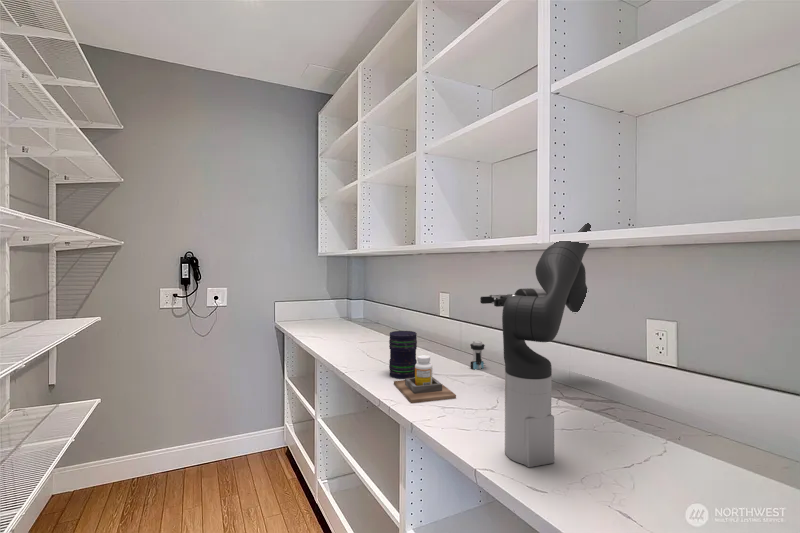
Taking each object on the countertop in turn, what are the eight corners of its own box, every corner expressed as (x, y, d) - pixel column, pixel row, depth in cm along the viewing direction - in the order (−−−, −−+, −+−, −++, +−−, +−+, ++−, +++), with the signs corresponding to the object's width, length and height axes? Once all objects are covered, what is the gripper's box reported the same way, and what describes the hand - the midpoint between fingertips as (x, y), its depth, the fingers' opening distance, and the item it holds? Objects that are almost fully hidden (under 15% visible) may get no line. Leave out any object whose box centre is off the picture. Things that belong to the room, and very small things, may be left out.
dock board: (456, 398, 115) (456, 388, 115) (411, 403, 111) (411, 392, 111) (433, 380, 132) (433, 371, 132) (393, 384, 128) (393, 375, 128)
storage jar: (383, 375, 138) (383, 333, 138) (401, 369, 145) (401, 329, 145) (404, 381, 131) (404, 337, 131) (422, 374, 139) (422, 332, 139)
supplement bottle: (419, 383, 125) (419, 353, 125) (435, 386, 122) (435, 355, 122) (411, 388, 120) (412, 357, 120) (427, 391, 118) (427, 359, 118)
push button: (480, 365, 151) (480, 339, 151) (490, 368, 146) (490, 342, 146) (467, 367, 148) (467, 341, 148) (476, 371, 143) (476, 344, 143)
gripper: (519, 286, 132) (476, 287, 128) (546, 289, 119) (499, 291, 114) (519, 308, 132) (476, 310, 128) (546, 314, 119) (499, 316, 114)
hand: (487, 301), depth 121 cm, fingers open, 8 cm apart
